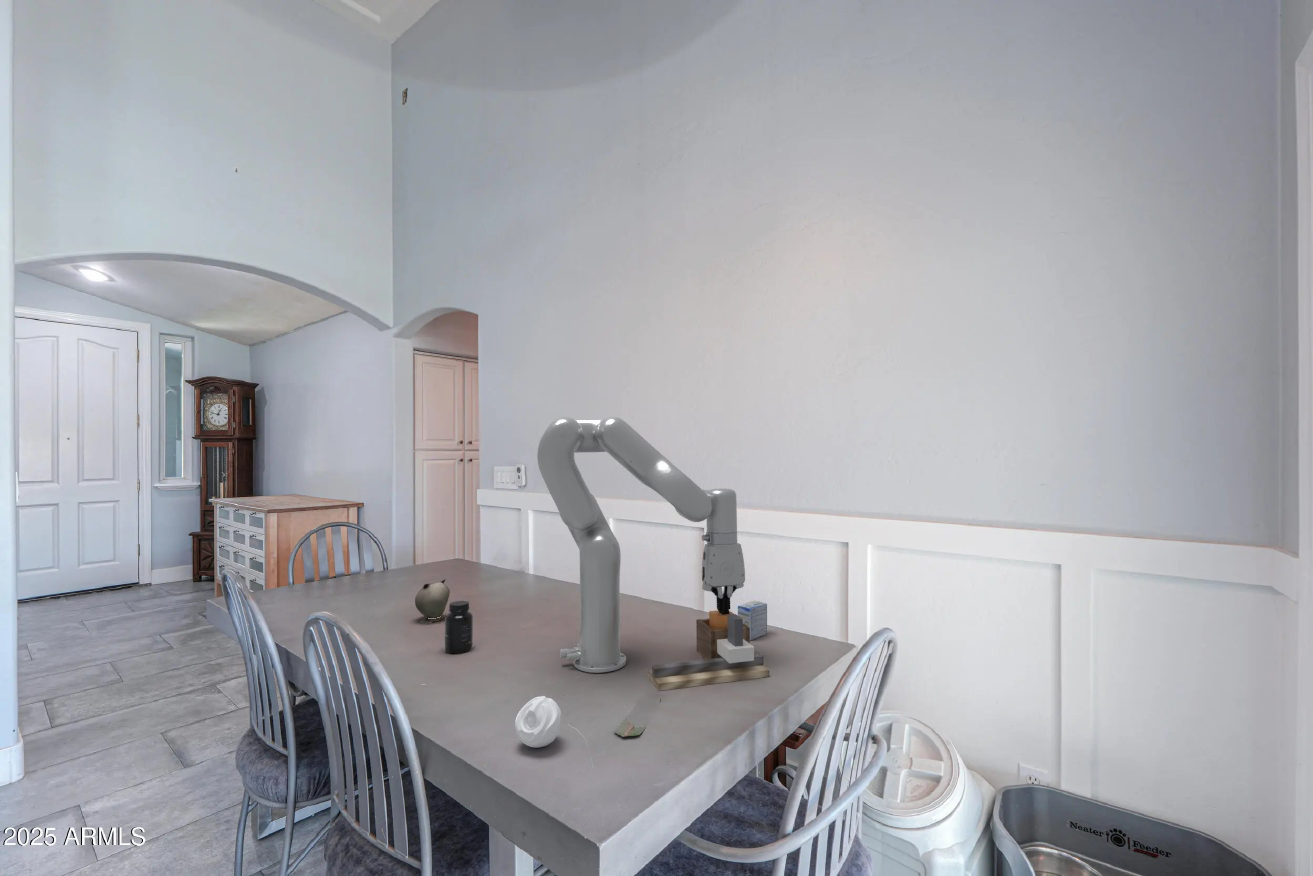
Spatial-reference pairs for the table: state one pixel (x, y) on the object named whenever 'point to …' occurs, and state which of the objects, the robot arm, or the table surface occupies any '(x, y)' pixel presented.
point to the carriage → (735, 642)
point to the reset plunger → (718, 620)
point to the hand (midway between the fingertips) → (723, 612)
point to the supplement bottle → (458, 628)
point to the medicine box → (754, 617)
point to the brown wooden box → (713, 638)
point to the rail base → (705, 672)
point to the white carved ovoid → (538, 722)
